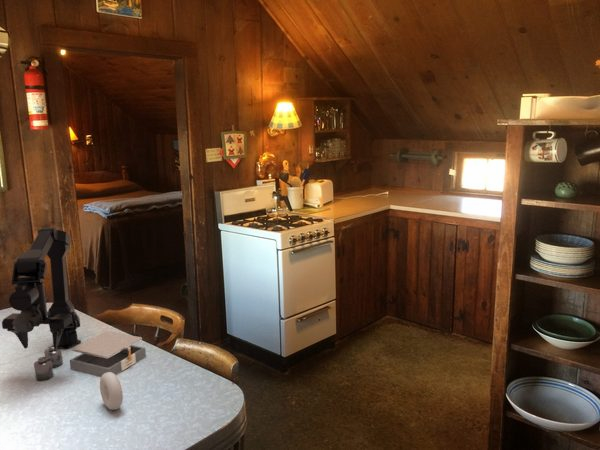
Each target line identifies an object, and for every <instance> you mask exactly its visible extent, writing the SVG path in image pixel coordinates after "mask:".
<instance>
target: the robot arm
mask: <svg viewBox="0 0 600 450" xmlns="http://www.w3.org/2000/svg"><path fill="white" fill-rule="evenodd" d="M71 243H72V238H71V234H69V233H68V231H63V230H60V229H57V228H56V227H55V228H54V227H41V228H39V229H38V230H37V235H36V237H35V238H34V240H33V242H32V243H31V245H30V248H29V249H28V250H27V251H25V252H23V253H21V254H20V255H19V256H18V257H17V258H16V260H15V262H14V264H13V268H12V269H13V271H12V277H11V278H12V279H11V286H12V285H13V286H14V285H16V286H15V287H14V291H13V292H12V293H11V294H10V296H9V299H8V303H9V305H10V307H11V308H12V309H13V310H16V311H20V313H11V314H9V315H8V316H6V317H5V318H3V320H2V321H1V327H2V329H3V330H6V331H7V332H10V333H12V334H14V335H15V336H16V337H17V338H18V340H19V341H20V344H21V345H22V346H23V348H24V349H27V348H29V334H28V333H31V332H32V331H33V330H34V328H35V327H39V326H40V325H48V327H49V332H50V333H51V334H52V346H53V345H54V349H56V348H57V347H59V348H61V349H64V350H67V349H69V348H70V349H71V348H73V347H75V346H77V345H79V344H81V343H82V341H81V340H80V339H78V333H77V329H78V328H80V327H81V319H80V316H79V315H78V314H77V312H76V311H75V305H74V304H73V303H72V302H71V300H70V299H69V292H68V291H69V290H68V288H69V287H68V275H67V262H66V257H67V255H68V253H69V251H70V249H71V247H70V246H71ZM46 257H48V258H49V260H50V261H49V262H50V274H51V275H50V277H51V287H52V289H51V290H52V301H53V302H52V304H51V305H50V307H49V308H47V303H48V302H49V298H48V297H46V292H45V285H44V280H45V278H46V274H47V268H48V264H47V262H46V260H45V259H46Z"/></svg>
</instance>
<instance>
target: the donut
mask: <svg viewBox="0 0 600 450" xmlns="http://www.w3.org/2000/svg"><path fill="white" fill-rule="evenodd" d="M99 391H100V396H101V398H102V402H103V403H104V405H105V406H106V408H107V409H109V410H111V411H112V410H113V411H114V410H118V409H119V408H120V407H121V406H122V404H123V399H124V395H123V388H122V384H121V381H120V380H119V378H118V376H117V374H116V375H115V374H114V373H112V372H107V373H104V374H103V375H102V377H101V376H100V378H99Z"/></svg>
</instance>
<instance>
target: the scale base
mask: <svg viewBox="0 0 600 450" xmlns="http://www.w3.org/2000/svg"><path fill="white" fill-rule="evenodd" d="M129 347H131V349H130V350H131V357H132V359H131V360H128V356H126V357H124V358H123V359H121V360H119V361H117V362H116V363H114V364H112V365H111V366H109V367H107V366H103V365H99V364H95V363H90V361H91V360H92V359H95V358H96V357H97V356H93V355H89V354H84V353H79V355H77V356H75V357H72V358H70V359H69V365H70V368H69V369H70V370H73V371H76V372H80V373H85V374H90V375H93V376H97V377H100V378H101V377H102V375H103V374H104V373H107V372H112V373H114V374H115V375H116V376H117V375H118V374H119V373H121V372H123V371H124V370H126V369H127V368H130V367H131V366H132V365H135V364H136V363H138V362H139V361H141V360H143V359H144V358H146V357H147V354H146V351H147V350H146V347H143V346H138V345H134V344H133V345H131V346H129ZM119 353H122V354H127V355H128V350H126V349H124V350H122V351H120V352H119ZM145 356H146V357H145Z"/></svg>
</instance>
